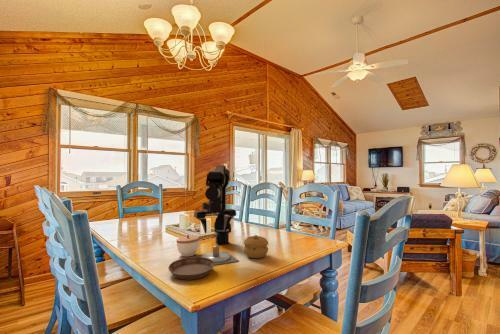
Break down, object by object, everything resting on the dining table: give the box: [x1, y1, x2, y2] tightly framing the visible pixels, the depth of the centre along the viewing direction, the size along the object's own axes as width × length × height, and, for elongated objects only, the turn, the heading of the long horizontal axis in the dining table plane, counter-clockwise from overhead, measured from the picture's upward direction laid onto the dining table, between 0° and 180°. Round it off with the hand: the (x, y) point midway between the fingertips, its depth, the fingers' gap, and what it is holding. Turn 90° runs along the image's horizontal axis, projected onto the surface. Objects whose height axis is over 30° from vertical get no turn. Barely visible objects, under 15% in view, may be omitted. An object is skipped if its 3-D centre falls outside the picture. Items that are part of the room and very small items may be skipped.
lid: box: [202, 244, 230, 263], centre depth 120 cm, size 13×13×5 cm
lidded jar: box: [176, 234, 200, 257], centre depth 125 cm, size 11×11×9 cm
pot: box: [242, 234, 269, 259], centre depth 123 cm, size 12×12×10 cm
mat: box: [193, 250, 240, 267], centre depth 120 cm, size 16×16×1 cm
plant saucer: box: [168, 256, 216, 281], centre depth 103 cm, size 18×18×3 cm
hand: (215, 232), depth 120 cm, fingers open, 9 cm apart
